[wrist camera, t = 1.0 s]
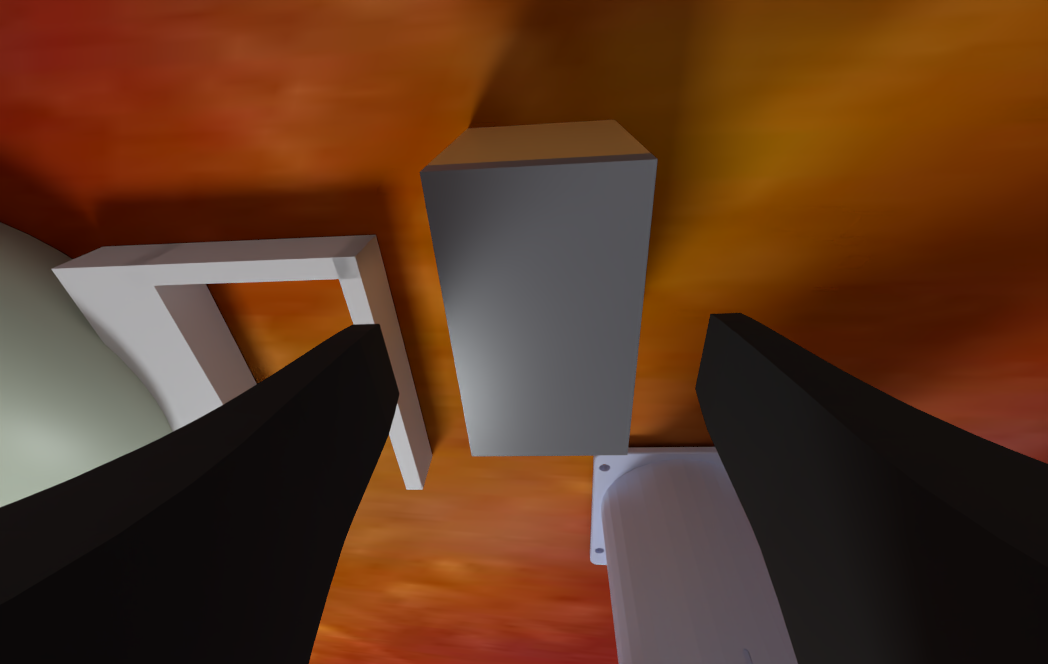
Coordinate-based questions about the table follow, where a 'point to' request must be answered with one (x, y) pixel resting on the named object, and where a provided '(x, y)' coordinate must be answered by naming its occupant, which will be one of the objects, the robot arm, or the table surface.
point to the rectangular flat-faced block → (543, 281)
